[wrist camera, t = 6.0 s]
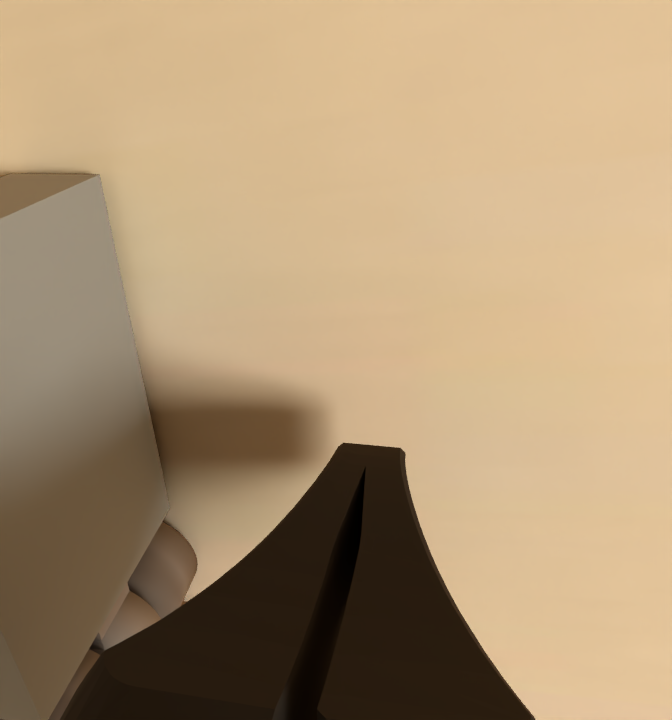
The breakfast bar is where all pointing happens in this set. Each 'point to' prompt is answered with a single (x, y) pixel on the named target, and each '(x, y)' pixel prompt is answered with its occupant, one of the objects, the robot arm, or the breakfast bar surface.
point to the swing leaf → (67, 442)
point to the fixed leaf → (149, 590)
